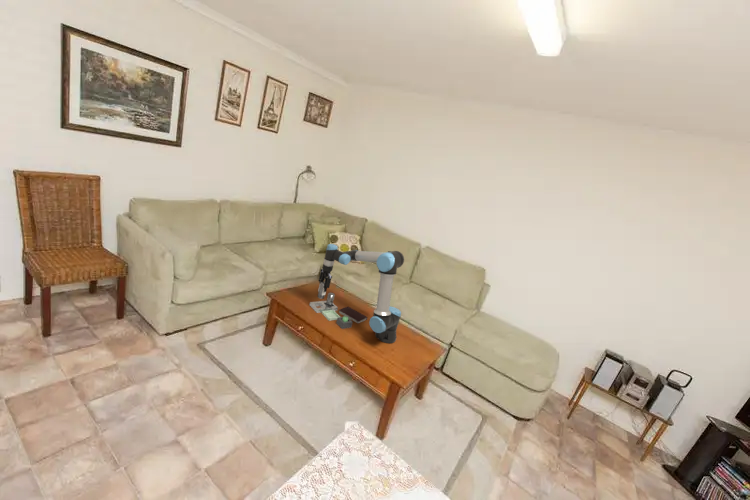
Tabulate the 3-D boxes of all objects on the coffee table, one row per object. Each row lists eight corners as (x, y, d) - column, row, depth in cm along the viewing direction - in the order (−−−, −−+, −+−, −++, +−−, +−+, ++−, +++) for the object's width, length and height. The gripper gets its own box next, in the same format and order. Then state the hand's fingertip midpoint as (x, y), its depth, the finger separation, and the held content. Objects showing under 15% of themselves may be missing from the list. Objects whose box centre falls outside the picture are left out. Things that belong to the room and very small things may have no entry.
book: (347, 309, 277) (348, 305, 276) (367, 320, 268) (368, 316, 267) (337, 313, 267) (338, 309, 266) (357, 324, 258) (358, 321, 257)
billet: (319, 298, 259) (322, 284, 255) (316, 295, 262) (319, 281, 259) (325, 298, 262) (328, 284, 258) (322, 295, 265) (325, 281, 262)
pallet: (337, 311, 269) (337, 307, 268) (316, 313, 257) (317, 309, 257) (329, 303, 277) (330, 300, 277) (309, 305, 266) (310, 302, 265)
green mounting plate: (340, 319, 257) (340, 317, 257) (328, 321, 251) (329, 318, 250) (332, 312, 265) (333, 309, 265) (321, 313, 259) (321, 311, 258)
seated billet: (332, 309, 270) (336, 295, 267) (327, 309, 267) (330, 295, 264) (329, 306, 274) (332, 292, 270) (323, 306, 270) (327, 292, 267)
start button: (347, 324, 250) (349, 318, 248) (343, 325, 247) (344, 319, 246) (344, 322, 252) (346, 316, 251) (340, 322, 250) (341, 316, 249)
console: (351, 328, 250) (352, 322, 248) (341, 329, 245) (343, 323, 243) (345, 322, 256) (346, 316, 254) (336, 323, 251) (337, 317, 249)
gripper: (338, 269, 250) (331, 298, 257) (326, 259, 263) (320, 287, 270) (329, 269, 246) (322, 299, 252) (317, 259, 259) (311, 288, 265)
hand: (321, 293), depth 261 cm, fingers closed on billet, 5 cm apart
